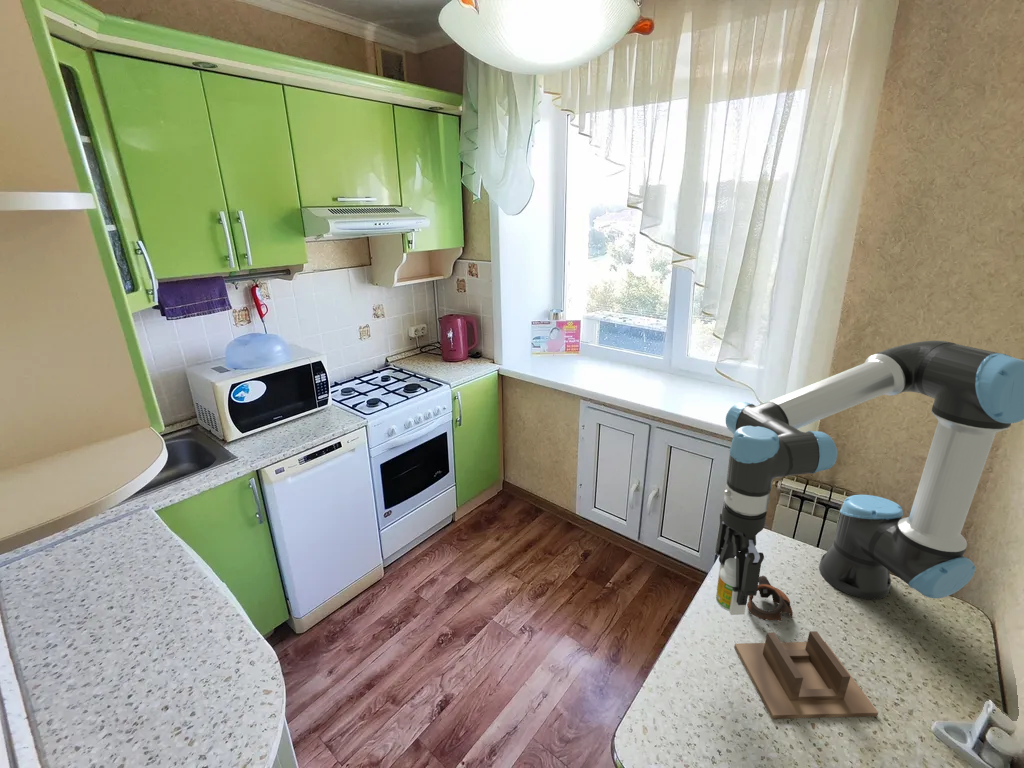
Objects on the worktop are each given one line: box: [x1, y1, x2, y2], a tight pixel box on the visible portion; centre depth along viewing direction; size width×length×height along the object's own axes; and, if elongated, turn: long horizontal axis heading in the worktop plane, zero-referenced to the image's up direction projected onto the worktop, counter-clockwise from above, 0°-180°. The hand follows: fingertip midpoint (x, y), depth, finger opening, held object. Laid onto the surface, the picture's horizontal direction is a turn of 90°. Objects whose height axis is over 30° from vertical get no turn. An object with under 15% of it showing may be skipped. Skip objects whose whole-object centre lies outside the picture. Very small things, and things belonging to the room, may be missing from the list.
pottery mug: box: [746, 575, 794, 622], centre depth 115 cm, size 12×10×8 cm
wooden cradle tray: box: [733, 630, 879, 720], centre depth 97 cm, size 20×16×7 cm
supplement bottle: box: [715, 557, 736, 612], centre depth 97 cm, size 5×5×10 cm
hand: (730, 601), depth 99 cm, fingers closed on supplement bottle, 5 cm apart
